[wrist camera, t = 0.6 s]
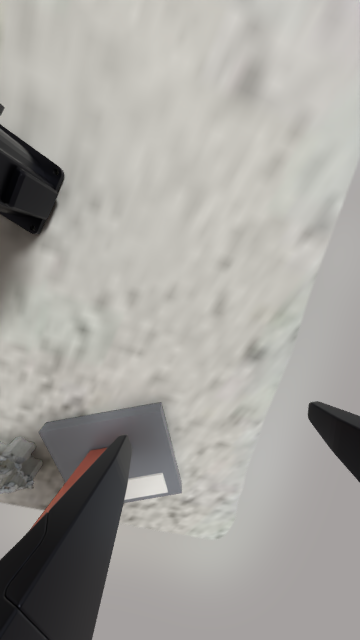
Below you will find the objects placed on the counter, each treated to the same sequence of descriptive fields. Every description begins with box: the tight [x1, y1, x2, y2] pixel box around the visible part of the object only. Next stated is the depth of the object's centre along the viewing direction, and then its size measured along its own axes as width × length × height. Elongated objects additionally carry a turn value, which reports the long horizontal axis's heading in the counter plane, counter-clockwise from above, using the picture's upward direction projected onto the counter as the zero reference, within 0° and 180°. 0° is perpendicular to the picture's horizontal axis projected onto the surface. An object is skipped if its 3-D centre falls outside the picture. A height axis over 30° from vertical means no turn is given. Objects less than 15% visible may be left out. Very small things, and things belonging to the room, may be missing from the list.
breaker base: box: [39, 402, 182, 503], centre depth 26 cm, size 16×16×2 cm
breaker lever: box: [29, 448, 107, 531], centre depth 20 cm, size 2×6×10 cm, turn 100°
